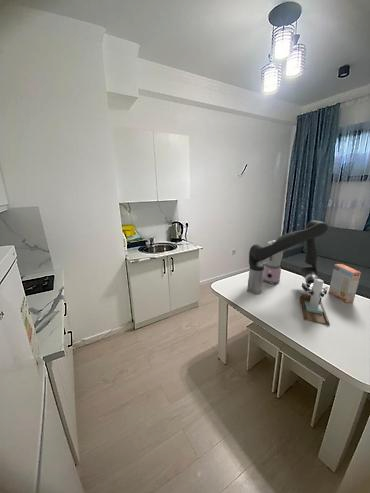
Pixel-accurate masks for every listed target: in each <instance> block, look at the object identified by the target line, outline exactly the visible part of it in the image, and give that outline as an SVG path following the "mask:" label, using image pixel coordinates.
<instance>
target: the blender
mask: <svg viewBox="0 0 370 493" xmlns="http://www.w3.org/2000/svg"><path fill="white" fill-rule="evenodd" d="M276 240H277V239H276ZM276 240H275V239H273V240H269V241H267V243H266V246H269V245H271V244H273V243H274V242H275V241H276ZM283 253H284V250H283V251H281V252H278V253H276V254H274V255H272V256H271V257H269V258H267V259H265V265H264V272H263V282H264V283H266V282H267V283H271V285H276V284H278V283H280V280H281V273H282V269H281V262H282V258H283V255H284V254H283Z"/></svg>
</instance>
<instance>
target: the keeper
mask: <svg viewBox="0 0 370 493" xmlns="http://www.w3.org/2000/svg"><path fill="white" fill-rule="evenodd" d="M322 287H324V279H323V280H322V279H320V278H318V279H314V283H313V289H312V291H313V295H311V294H310V295H311V299H310V303H309V302H305V307H306V311H308V312H314V313H319V314H323V310H322V308H321V305H320V304H319V301H320V297H321V292H322ZM321 298H322V297H321Z"/></svg>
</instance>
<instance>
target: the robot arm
mask: <svg viewBox="0 0 370 493" xmlns="http://www.w3.org/2000/svg"><path fill="white" fill-rule="evenodd" d="M328 230H329V225H328V224H327V223H325V222H324V221H319V220H315V219H314V220H310V221H308V223H307V224H306V226H305V228H304V229H301V230H295V231H289V232H287V233H285V234H283V235H281V236H279V237H278V238H277V239H276V241H275V242H274V243H273V244H271V245H269V246H267V245H266V246H262V245H261V244H253V245H252V246H251V247H250V249H249V252H248V264H249V268H248V270H249V271H248V279H247V288H246V289H247V290H246V292H248V293H250V294H253V295H260V294H262V291H263V290H262V289H263V282H264V281H263V272H264V266H265V265H264V263H263V261H266V259H267V258H269V257H271V256H272V255H274V254H276V253H278V252H281V251H283V252H284V251H285V250H287V249H290V248H292V247H295V246H297V245H299V244H302V243H304V242H306V244H305V245H306V250H305V257H304V263H306V266H302V267H300V269H299V271H300V275H301V277H303V279H304V281H305V282H302V284H301V288H302V289H303V290H304V291H305V292H308V295H313V291H312V289H313V283H314V279H319V277H318V274H319V272H318V266H317V260H318V254H319V252H318V251H319V250H318V248H317V244H316V238H318V237H320V236H323V235H324V234H326V233H327V231H328ZM307 265H310V266H307ZM328 291H329V287H328V286H323V287H322V292H321V298H324V297H325V295H327V294H328Z"/></svg>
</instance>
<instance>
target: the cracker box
mask: <svg viewBox="0 0 370 493" xmlns="http://www.w3.org/2000/svg"><path fill="white" fill-rule="evenodd" d="M361 275H362V272H361V271H360V270H357V269H355V268H352V267H350V266H348V265H345V264H343V263H335V264H334V266H333V270H332V275H331V279H330V284H329V287H328V293H329V294H331V295H333V296H334V297H335V298H337V299H338V300H340V301H342V302H343V303H345V304H348V303H351V304H352V303H354V301H355V298H356V293H357V290H358V286H359V282H360V278H361Z"/></svg>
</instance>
